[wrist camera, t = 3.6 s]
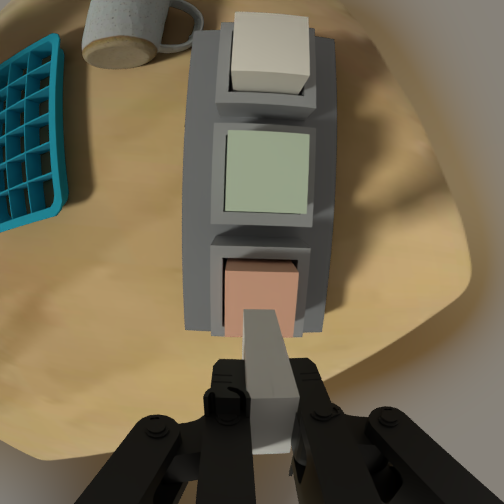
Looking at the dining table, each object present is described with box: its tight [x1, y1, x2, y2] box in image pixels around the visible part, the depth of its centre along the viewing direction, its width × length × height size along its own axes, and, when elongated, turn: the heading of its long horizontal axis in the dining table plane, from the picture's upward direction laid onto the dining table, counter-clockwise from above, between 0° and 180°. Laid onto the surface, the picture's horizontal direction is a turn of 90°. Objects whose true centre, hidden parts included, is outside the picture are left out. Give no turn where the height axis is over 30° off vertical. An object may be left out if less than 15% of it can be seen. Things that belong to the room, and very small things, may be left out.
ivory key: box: [231, 12, 310, 95], centre depth 16 cm, size 4×4×4 cm
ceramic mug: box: [82, 0, 204, 69], centre depth 18 cm, size 11×8×8 cm
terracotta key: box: [225, 258, 299, 337], centre depth 20 cm, size 4×4×4 cm
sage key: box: [225, 130, 310, 214], centre depth 18 cm, size 4×4×4 cm
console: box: [182, 22, 337, 337], centre depth 22 cm, size 12×26×7 cm, turn 178°
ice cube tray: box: [0, 33, 69, 232], centre depth 22 cm, size 12×20×3 cm, turn 8°
